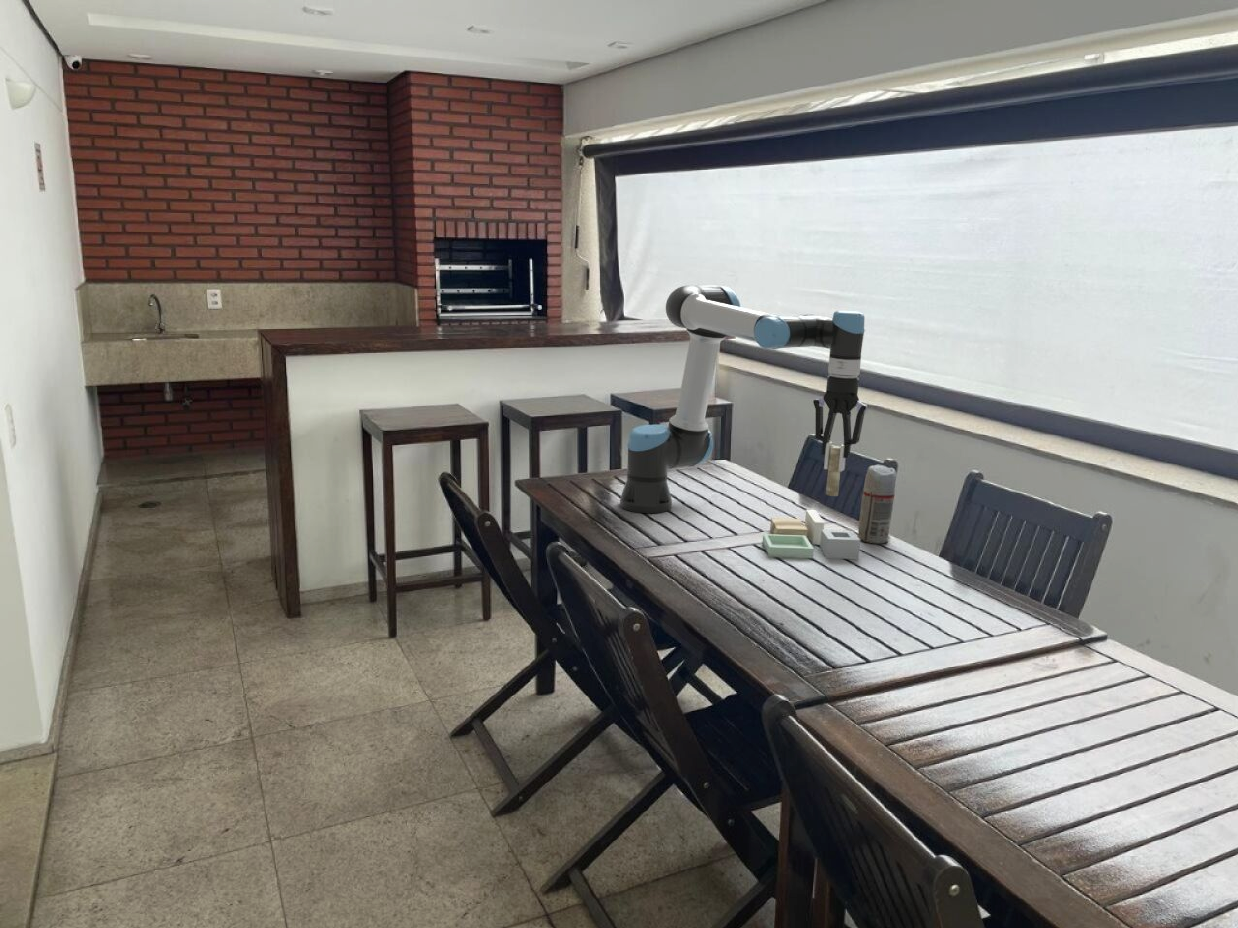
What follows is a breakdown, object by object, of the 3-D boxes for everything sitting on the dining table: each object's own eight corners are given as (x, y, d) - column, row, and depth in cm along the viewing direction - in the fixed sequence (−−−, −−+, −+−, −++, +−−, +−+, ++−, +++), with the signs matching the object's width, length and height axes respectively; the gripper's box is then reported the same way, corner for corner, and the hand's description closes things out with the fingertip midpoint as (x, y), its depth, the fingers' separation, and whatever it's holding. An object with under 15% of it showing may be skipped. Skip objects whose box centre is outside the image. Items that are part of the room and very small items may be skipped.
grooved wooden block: (769, 532, 262) (770, 518, 262) (799, 533, 263) (800, 518, 262) (775, 543, 253) (777, 528, 252) (806, 544, 253) (807, 529, 252)
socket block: (820, 548, 249) (821, 529, 248) (851, 549, 249) (852, 530, 248) (826, 558, 241) (828, 538, 240) (858, 559, 241) (860, 540, 240)
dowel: (824, 494, 242) (828, 447, 239) (827, 492, 244) (832, 445, 241) (835, 496, 240) (840, 449, 237) (839, 494, 243) (844, 447, 240)
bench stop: (804, 530, 264) (806, 509, 262) (813, 531, 264) (815, 509, 262) (812, 544, 252) (814, 522, 251) (822, 544, 252) (824, 522, 251)
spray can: (886, 536, 262) (894, 464, 257) (891, 545, 254) (899, 471, 249) (854, 534, 262) (861, 462, 258) (859, 543, 254) (866, 469, 250)
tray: (762, 543, 251) (763, 533, 251) (804, 544, 251) (805, 535, 251) (768, 556, 241) (769, 547, 240) (812, 558, 241) (813, 548, 240)
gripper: (806, 373, 236) (798, 467, 241) (872, 380, 228) (861, 477, 234) (816, 370, 242) (807, 461, 248) (880, 377, 235) (870, 471, 240)
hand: (834, 468), depth 241 cm, fingers closed on dowel, 3 cm apart
